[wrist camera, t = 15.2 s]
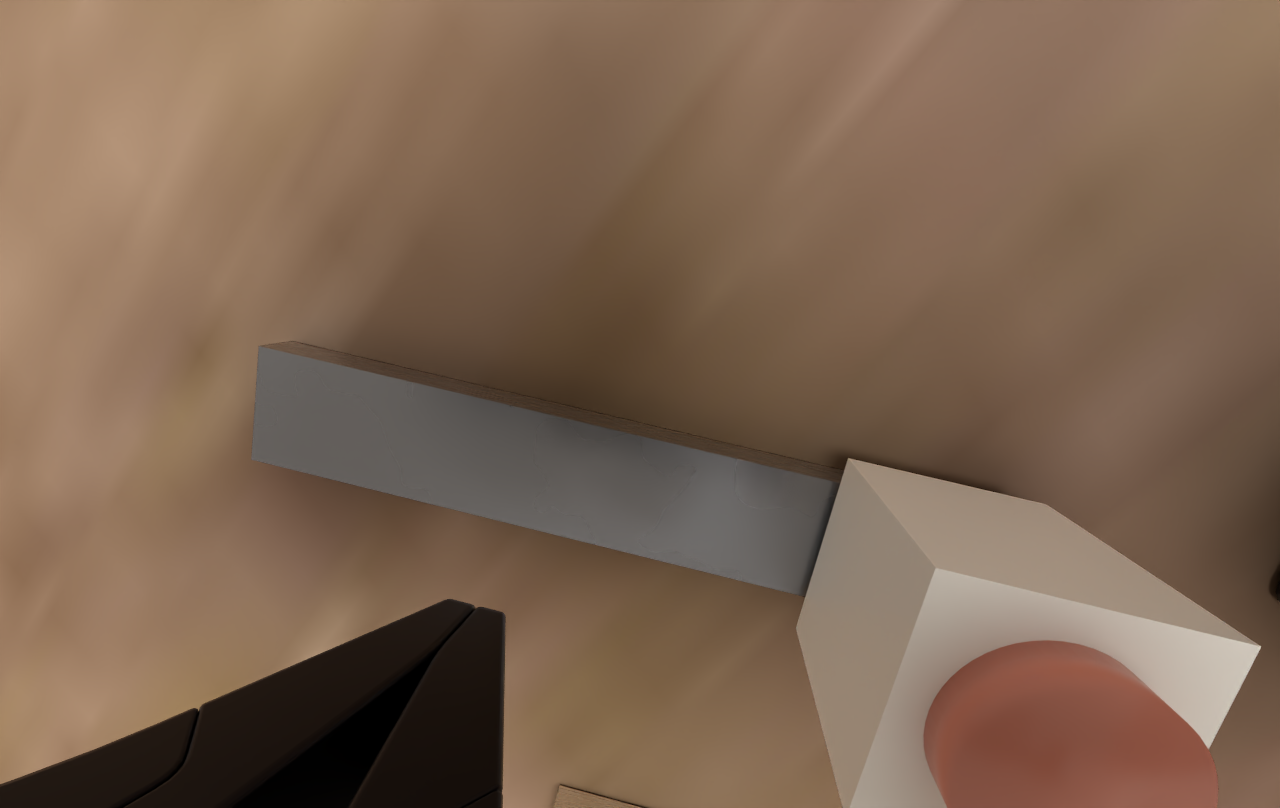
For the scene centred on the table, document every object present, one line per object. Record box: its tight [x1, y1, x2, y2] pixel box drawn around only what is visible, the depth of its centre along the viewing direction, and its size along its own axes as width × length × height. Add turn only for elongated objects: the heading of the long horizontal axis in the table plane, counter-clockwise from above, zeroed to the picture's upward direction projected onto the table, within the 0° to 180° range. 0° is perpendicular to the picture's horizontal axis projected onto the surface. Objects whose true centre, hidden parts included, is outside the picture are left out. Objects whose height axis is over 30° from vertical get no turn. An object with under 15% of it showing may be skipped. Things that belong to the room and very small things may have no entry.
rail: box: [251, 341, 844, 597], centre depth 15 cm, size 20×3×1 cm, turn 78°
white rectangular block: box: [796, 458, 1261, 808], centre depth 11 cm, size 4×4×6 cm
